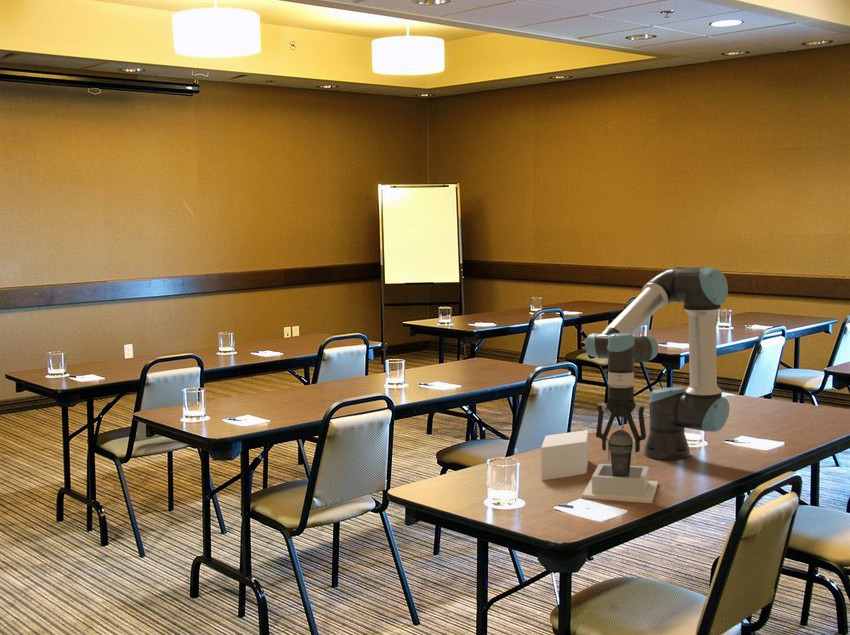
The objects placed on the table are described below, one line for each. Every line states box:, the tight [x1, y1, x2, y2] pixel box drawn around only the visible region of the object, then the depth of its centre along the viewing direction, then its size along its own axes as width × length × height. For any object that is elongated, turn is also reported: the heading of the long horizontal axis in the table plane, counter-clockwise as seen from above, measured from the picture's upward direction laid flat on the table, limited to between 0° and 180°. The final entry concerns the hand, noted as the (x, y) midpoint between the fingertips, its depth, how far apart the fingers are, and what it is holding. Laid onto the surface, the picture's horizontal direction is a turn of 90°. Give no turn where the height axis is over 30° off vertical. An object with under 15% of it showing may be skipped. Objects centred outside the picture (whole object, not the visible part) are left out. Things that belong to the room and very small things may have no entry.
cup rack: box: [581, 463, 659, 504], centre depth 280 cm, size 20×20×6 cm
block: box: [540, 429, 589, 481], centre depth 305 cm, size 15×30×11 cm, turn 141°
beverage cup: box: [608, 417, 633, 477], centre depth 279 cm, size 7×7×20 cm
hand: (620, 461), depth 279 cm, fingers closed on beverage cup, 7 cm apart
